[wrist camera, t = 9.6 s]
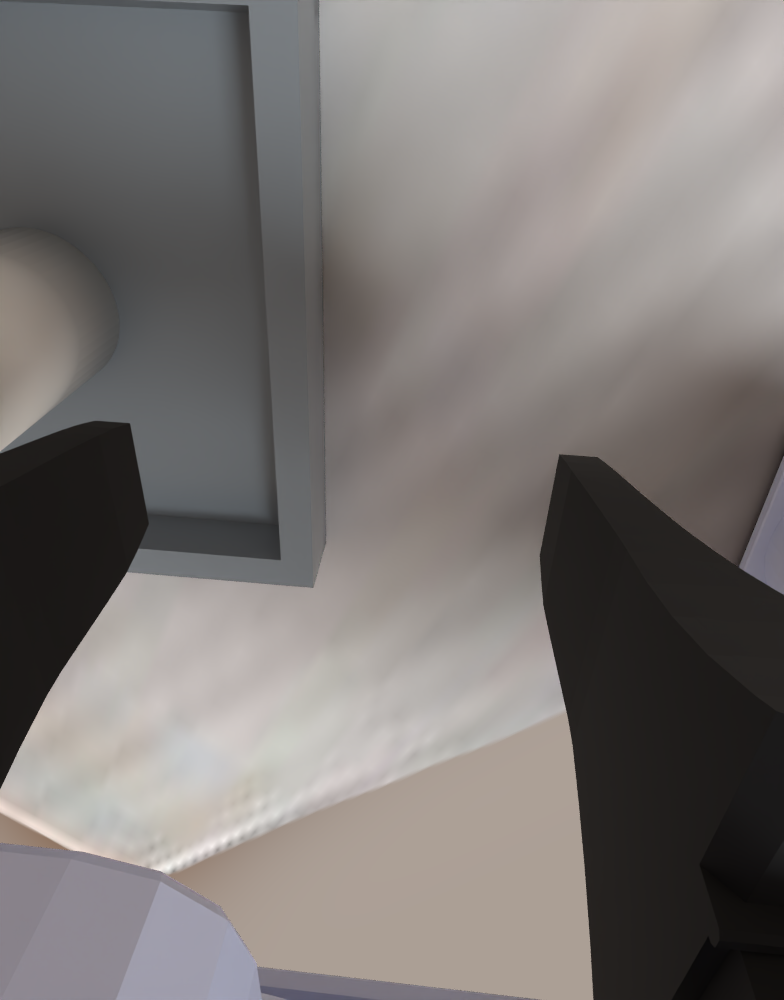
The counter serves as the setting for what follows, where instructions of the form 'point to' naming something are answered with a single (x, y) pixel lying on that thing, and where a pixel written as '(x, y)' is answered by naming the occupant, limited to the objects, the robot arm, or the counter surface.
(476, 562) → the counter surface
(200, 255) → the tray
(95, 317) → the shaker
